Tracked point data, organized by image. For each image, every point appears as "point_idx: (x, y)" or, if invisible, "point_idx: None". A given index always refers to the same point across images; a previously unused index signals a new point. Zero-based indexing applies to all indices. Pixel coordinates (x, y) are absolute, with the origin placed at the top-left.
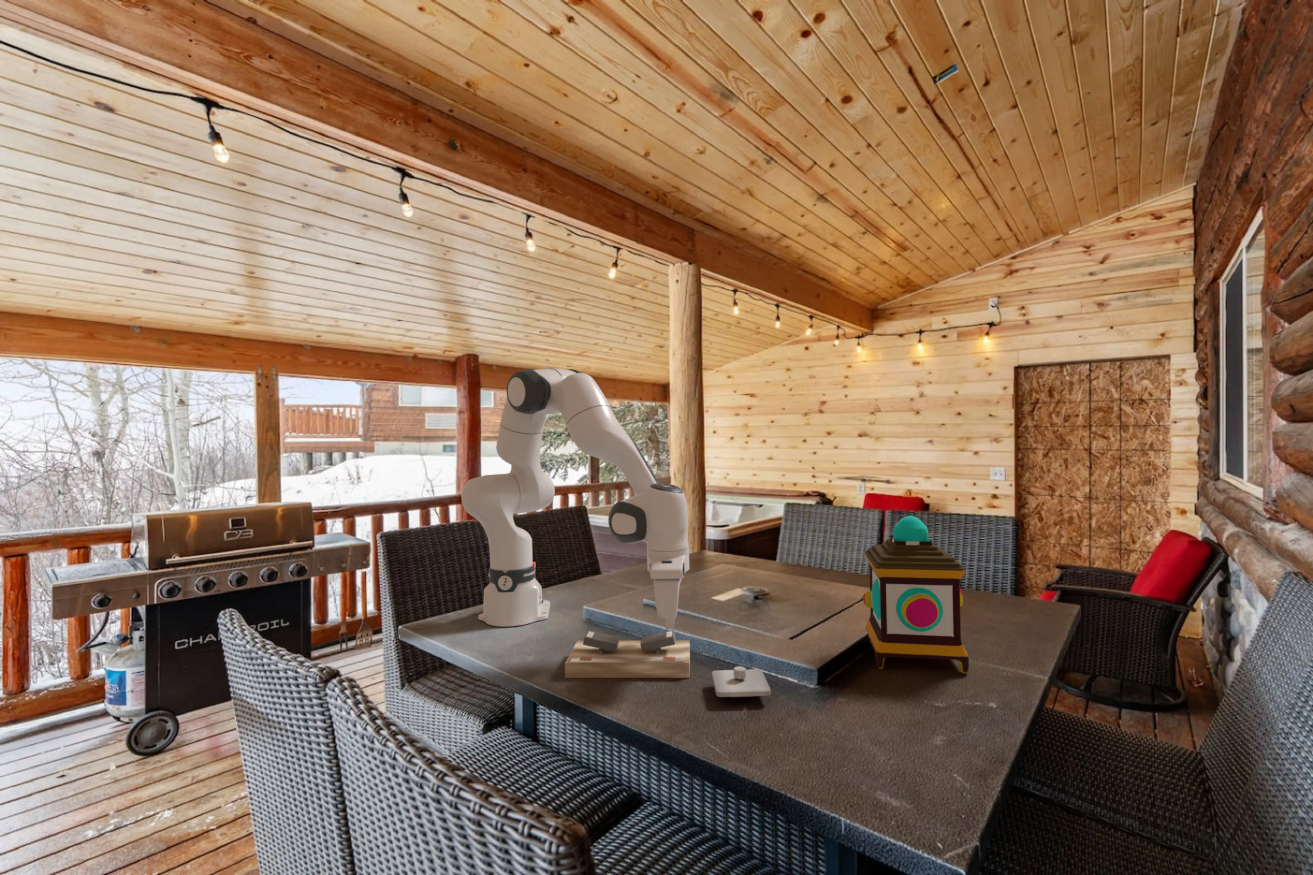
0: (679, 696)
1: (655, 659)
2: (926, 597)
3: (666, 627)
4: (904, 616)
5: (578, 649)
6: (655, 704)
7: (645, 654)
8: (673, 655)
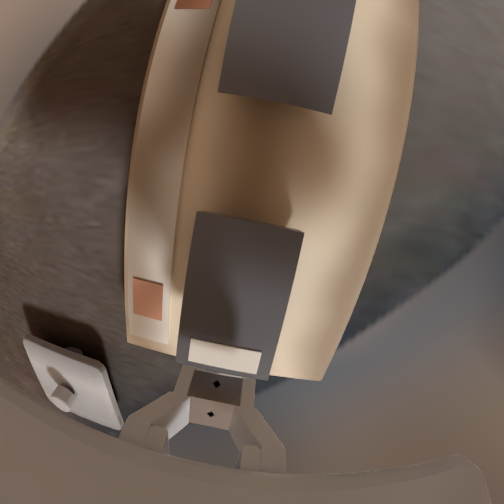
0: (55, 271)
1: (143, 253)
2: None
3: (183, 370)
4: None
5: None
6: (25, 215)
7: None
8: None
